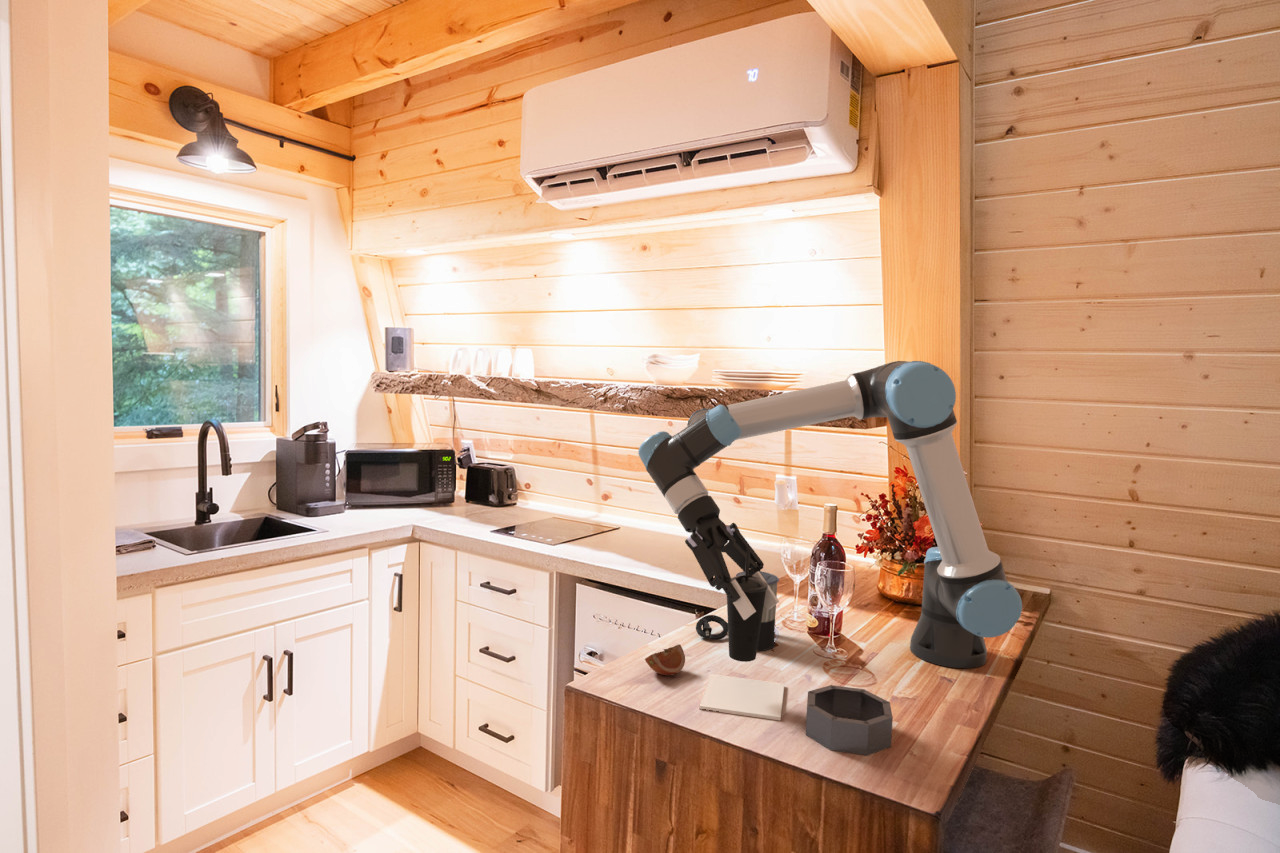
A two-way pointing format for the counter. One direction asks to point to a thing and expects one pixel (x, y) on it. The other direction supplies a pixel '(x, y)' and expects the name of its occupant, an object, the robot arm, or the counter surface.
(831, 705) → the grey octagonal ring
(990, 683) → the counter surface
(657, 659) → the fruit slice
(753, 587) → the drinking cup
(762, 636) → the milk frother
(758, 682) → the coaster
